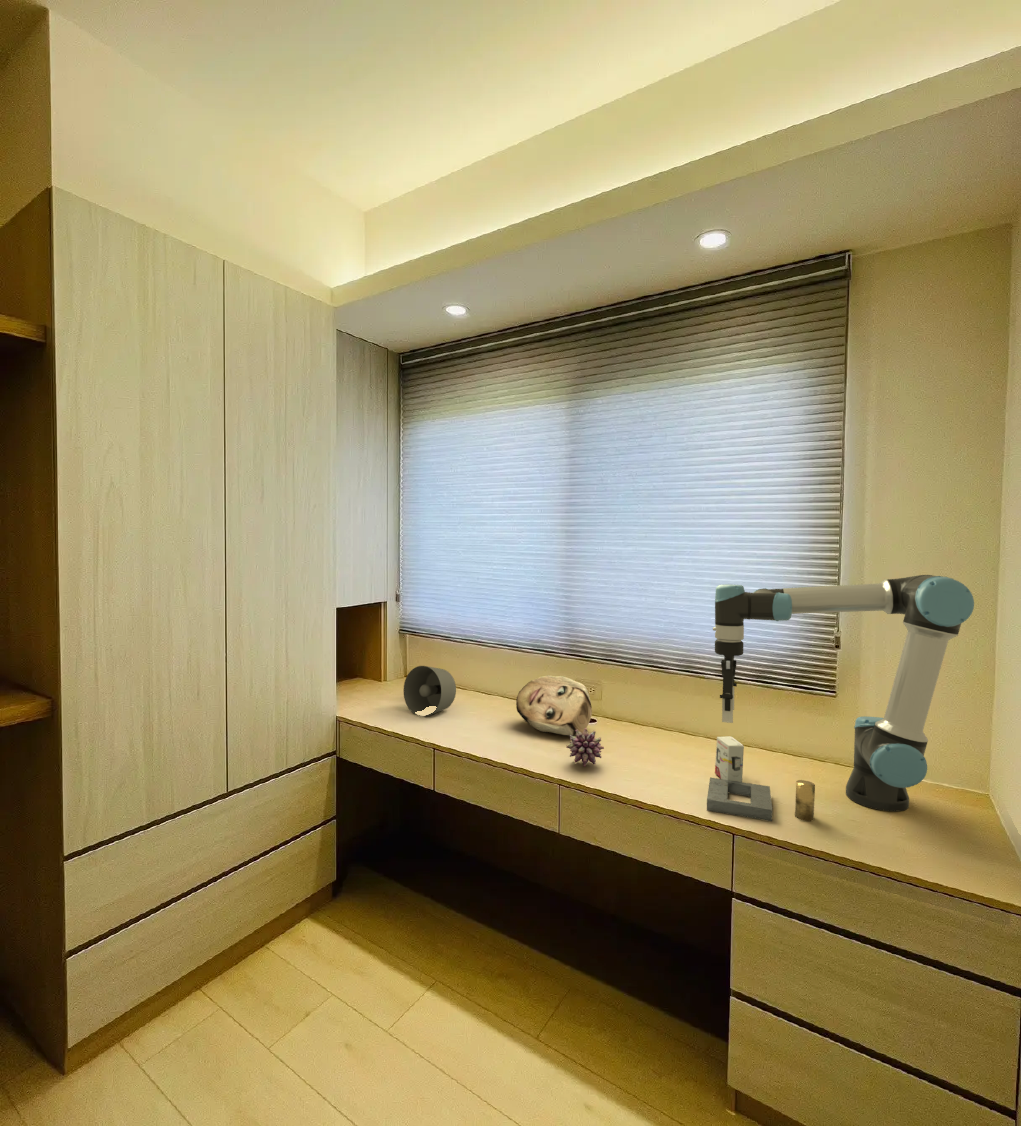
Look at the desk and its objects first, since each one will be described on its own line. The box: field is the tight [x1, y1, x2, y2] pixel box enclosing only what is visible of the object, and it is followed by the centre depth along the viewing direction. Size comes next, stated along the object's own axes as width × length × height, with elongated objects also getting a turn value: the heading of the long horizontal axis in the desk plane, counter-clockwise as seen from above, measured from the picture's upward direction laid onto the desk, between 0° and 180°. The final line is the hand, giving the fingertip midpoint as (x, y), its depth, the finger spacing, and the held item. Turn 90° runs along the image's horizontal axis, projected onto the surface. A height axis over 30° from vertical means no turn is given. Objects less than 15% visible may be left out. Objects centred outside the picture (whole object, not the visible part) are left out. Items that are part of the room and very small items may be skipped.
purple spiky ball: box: [566, 727, 605, 768], centre depth 187 cm, size 12×12×12 cm
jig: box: [706, 777, 773, 822], centre depth 161 cm, size 16×16×3 cm
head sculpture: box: [515, 674, 593, 736], centre depth 225 cm, size 23×17×28 cm
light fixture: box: [402, 665, 457, 717], centre depth 251 cm, size 20×25×27 cm
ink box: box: [714, 735, 745, 782], centre depth 178 cm, size 9×5×12 cm, turn 6°
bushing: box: [794, 779, 816, 822], centre depth 154 cm, size 4×4×9 cm
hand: (728, 715), depth 164 cm, fingers open, 13 cm apart
